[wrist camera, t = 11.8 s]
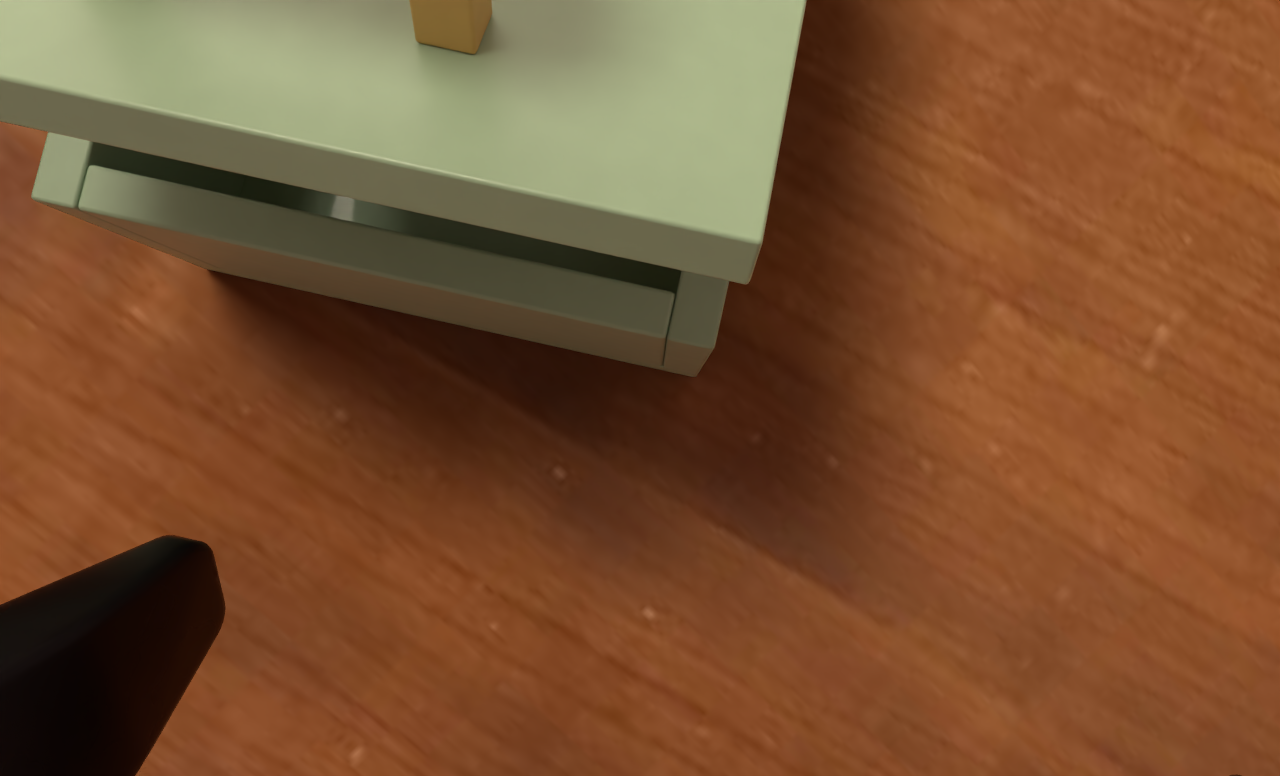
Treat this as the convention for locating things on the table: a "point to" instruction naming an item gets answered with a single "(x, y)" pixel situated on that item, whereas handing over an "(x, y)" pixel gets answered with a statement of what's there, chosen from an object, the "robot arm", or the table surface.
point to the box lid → (443, 106)
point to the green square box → (389, 256)
